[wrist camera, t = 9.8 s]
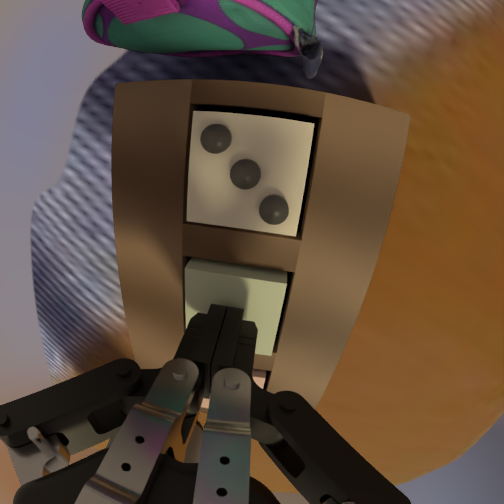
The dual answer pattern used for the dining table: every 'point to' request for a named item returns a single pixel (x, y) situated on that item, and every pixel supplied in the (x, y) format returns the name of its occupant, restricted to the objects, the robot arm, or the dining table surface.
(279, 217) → the button three dots
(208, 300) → the button one dot
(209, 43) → the pencil case
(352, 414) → the dining table surface
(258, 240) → the button panel
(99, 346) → the dining table surface
